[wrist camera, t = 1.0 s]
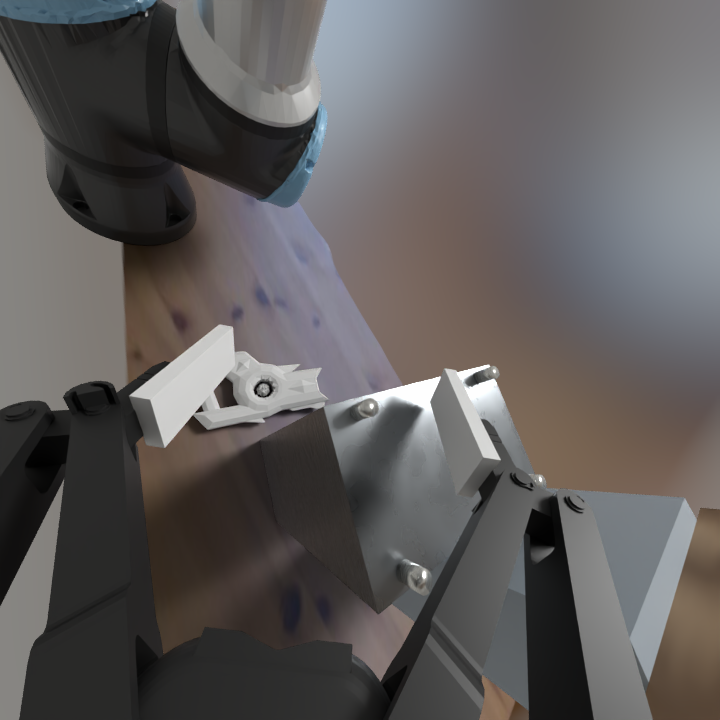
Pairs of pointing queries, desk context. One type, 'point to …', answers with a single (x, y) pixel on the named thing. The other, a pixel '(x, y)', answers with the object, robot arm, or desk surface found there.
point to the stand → (629, 573)
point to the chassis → (380, 485)
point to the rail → (692, 634)
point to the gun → (262, 393)
